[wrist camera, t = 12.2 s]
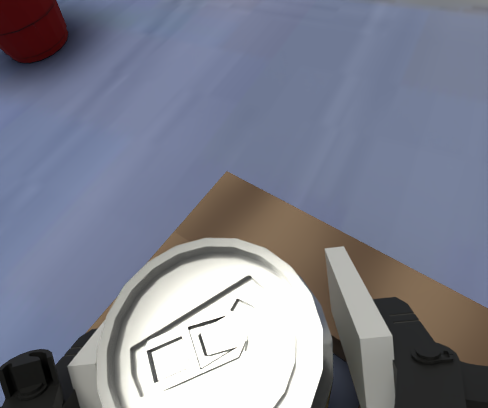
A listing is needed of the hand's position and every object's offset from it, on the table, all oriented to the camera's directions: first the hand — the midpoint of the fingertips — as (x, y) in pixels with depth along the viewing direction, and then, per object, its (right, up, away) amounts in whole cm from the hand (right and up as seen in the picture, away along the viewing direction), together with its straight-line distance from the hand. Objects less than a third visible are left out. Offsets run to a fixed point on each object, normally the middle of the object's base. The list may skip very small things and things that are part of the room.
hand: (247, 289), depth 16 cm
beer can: (+1, -6, +2) cm, 6 cm away
